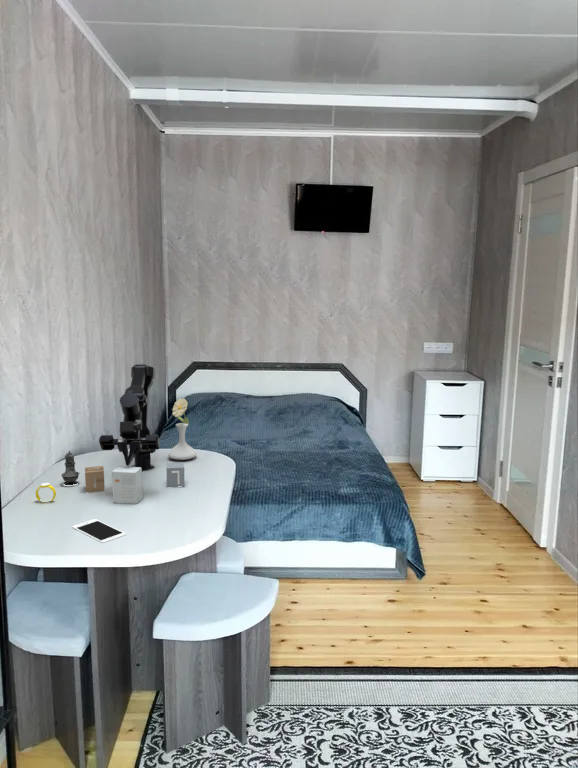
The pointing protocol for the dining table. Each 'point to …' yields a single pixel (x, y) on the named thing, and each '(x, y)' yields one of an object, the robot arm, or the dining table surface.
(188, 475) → the dining table surface
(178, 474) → the slate block
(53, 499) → the watch
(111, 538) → the cell phone
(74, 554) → the dining table surface
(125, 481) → the small box
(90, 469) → the brown cardboard box
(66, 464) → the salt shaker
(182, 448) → the flower in vase
